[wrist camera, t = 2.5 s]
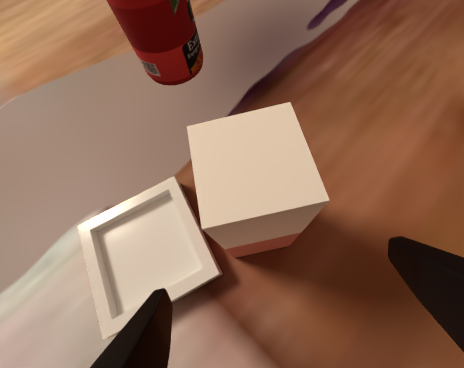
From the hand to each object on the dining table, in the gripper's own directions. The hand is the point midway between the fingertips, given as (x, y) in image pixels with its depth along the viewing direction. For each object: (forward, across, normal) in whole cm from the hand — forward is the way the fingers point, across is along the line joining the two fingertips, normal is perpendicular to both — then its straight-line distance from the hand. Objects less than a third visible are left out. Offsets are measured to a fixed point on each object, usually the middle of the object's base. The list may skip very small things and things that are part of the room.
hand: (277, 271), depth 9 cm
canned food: (+28, +5, -11) cm, 31 cm away
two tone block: (+11, 0, +5) cm, 12 cm away
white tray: (+11, +10, +5) cm, 16 cm away
